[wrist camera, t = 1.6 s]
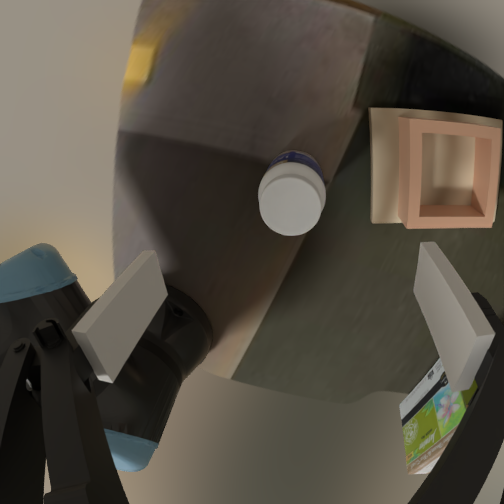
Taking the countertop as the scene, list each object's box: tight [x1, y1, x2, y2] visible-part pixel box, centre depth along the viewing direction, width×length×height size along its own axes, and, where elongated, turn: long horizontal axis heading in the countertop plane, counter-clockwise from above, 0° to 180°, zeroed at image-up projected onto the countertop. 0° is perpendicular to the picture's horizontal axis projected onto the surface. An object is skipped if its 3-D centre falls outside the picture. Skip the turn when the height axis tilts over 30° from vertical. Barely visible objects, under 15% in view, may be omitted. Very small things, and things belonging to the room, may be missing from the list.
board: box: [368, 107, 502, 223], centre depth 28 cm, size 16×12×1 cm
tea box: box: [400, 358, 478, 474], centre depth 36 cm, size 15×10×15 cm
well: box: [398, 117, 501, 229], centre depth 26 cm, size 10×10×4 cm
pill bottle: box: [258, 150, 326, 236], centre depth 27 cm, size 6×6×10 cm
